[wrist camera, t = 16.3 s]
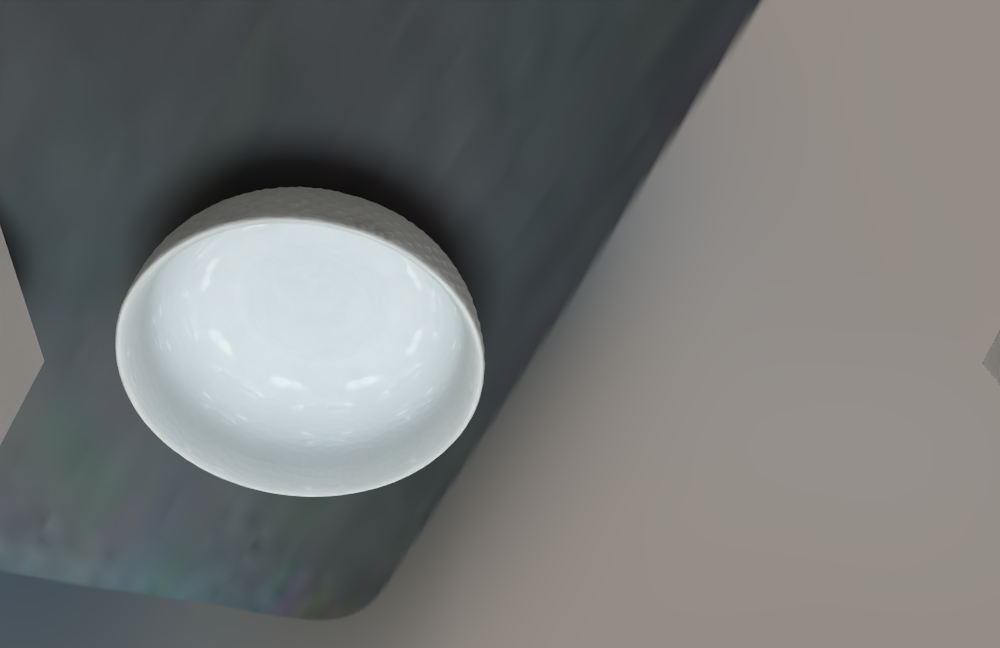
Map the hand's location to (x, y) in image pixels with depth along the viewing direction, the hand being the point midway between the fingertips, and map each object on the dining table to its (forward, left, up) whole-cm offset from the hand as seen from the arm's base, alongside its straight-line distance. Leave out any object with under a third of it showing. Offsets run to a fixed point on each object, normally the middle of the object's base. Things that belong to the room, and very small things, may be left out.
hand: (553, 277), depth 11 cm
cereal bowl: (+10, -19, -29) cm, 36 cm away
